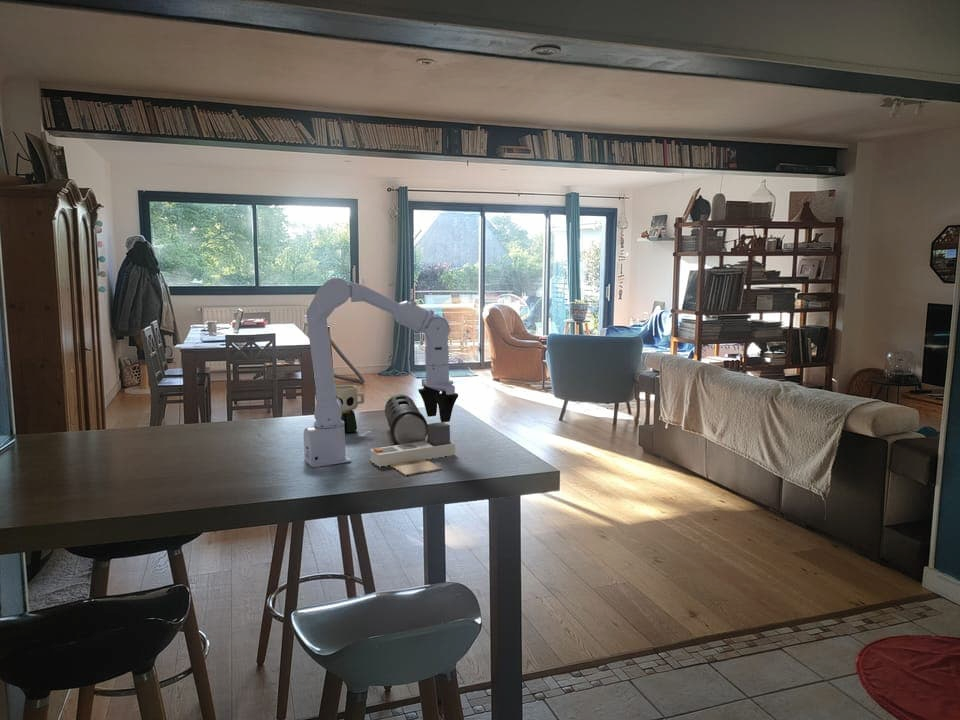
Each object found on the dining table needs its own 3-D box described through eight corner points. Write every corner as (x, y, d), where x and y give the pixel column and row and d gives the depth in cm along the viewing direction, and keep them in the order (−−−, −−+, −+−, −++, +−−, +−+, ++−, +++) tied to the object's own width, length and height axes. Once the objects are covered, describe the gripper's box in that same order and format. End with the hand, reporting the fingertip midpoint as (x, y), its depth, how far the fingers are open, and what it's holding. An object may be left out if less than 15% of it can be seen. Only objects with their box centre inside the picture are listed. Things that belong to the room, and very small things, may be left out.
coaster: (405, 476, 152) (405, 474, 152) (390, 466, 160) (390, 464, 160) (441, 469, 157) (441, 468, 157) (424, 460, 164) (424, 459, 164)
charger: (434, 449, 167) (434, 427, 166) (427, 445, 171) (427, 423, 170) (450, 446, 169) (449, 424, 168) (442, 443, 173) (442, 421, 172)
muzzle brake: (417, 427, 200) (416, 392, 199) (429, 451, 173) (428, 411, 172) (384, 429, 198) (383, 394, 197) (391, 454, 171) (390, 413, 170)
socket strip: (379, 467, 159) (378, 452, 159) (370, 461, 164) (369, 446, 164) (455, 455, 169) (455, 440, 168) (444, 449, 174) (444, 435, 174)
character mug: (326, 435, 190) (324, 389, 189) (326, 430, 197) (324, 385, 196) (365, 433, 192) (364, 388, 191) (365, 428, 199) (363, 384, 198)
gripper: (465, 366, 163) (466, 422, 165) (438, 360, 175) (439, 411, 177) (439, 369, 159) (440, 426, 161) (413, 362, 172) (415, 415, 174)
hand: (438, 418), depth 169 cm, fingers open, 7 cm apart
